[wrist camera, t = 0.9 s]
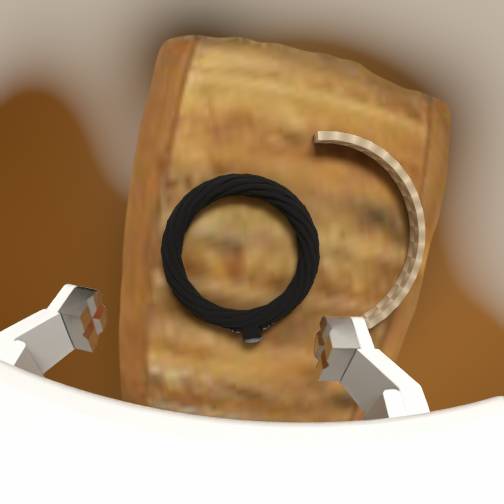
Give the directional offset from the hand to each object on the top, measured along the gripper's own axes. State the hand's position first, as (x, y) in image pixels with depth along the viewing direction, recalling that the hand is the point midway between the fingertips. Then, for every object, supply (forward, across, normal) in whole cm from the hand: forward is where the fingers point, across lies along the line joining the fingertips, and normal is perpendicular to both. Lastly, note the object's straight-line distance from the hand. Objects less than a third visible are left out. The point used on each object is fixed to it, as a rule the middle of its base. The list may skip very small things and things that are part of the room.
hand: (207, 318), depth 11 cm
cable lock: (+38, +1, -22) cm, 44 cm away
